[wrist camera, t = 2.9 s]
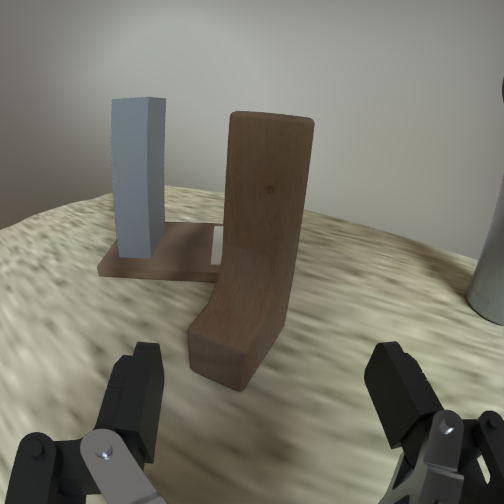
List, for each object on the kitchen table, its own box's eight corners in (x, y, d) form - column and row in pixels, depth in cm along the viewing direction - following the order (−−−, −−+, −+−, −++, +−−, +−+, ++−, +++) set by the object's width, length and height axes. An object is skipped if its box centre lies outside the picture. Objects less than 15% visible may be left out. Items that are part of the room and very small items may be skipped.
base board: (274, 233, 47) (275, 225, 46) (291, 284, 34) (293, 273, 34) (130, 228, 44) (130, 219, 44) (98, 275, 32) (96, 265, 31)
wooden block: (241, 395, 20) (268, 114, 12) (188, 371, 22) (183, 110, 14) (285, 325, 28) (316, 118, 20) (241, 310, 29) (257, 111, 21)
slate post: (165, 228, 42) (166, 98, 34) (151, 258, 34) (148, 97, 26) (138, 227, 42) (136, 99, 34) (119, 257, 34) (111, 99, 26)
